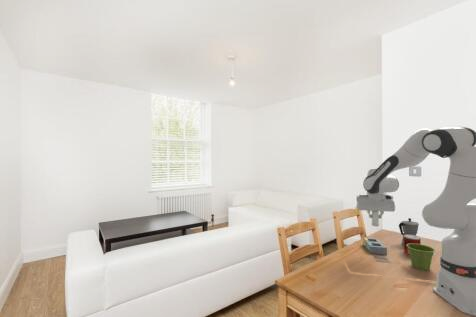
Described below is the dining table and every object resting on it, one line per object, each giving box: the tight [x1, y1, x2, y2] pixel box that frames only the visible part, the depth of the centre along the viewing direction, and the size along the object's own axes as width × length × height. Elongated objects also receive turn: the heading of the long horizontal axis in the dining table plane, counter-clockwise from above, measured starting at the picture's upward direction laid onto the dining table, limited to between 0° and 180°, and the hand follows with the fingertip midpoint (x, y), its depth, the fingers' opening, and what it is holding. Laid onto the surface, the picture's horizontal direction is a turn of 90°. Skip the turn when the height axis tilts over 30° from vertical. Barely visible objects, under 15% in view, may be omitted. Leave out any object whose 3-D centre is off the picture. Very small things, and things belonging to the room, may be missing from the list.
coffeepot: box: [398, 217, 420, 246], centre depth 153 cm, size 15×9×18 cm, turn 103°
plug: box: [371, 211, 380, 227], centre depth 138 cm, size 4×4×10 cm
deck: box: [370, 253, 391, 264], centre depth 131 cm, size 10×7×1 cm
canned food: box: [403, 235, 422, 256], centre depth 138 cm, size 8×8×11 cm
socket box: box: [362, 237, 388, 255], centre depth 145 cm, size 16×9×5 cm, turn 165°
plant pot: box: [407, 243, 436, 271], centre depth 121 cm, size 12×12×11 cm
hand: (375, 217), depth 138 cm, fingers closed on plug, 4 cm apart
